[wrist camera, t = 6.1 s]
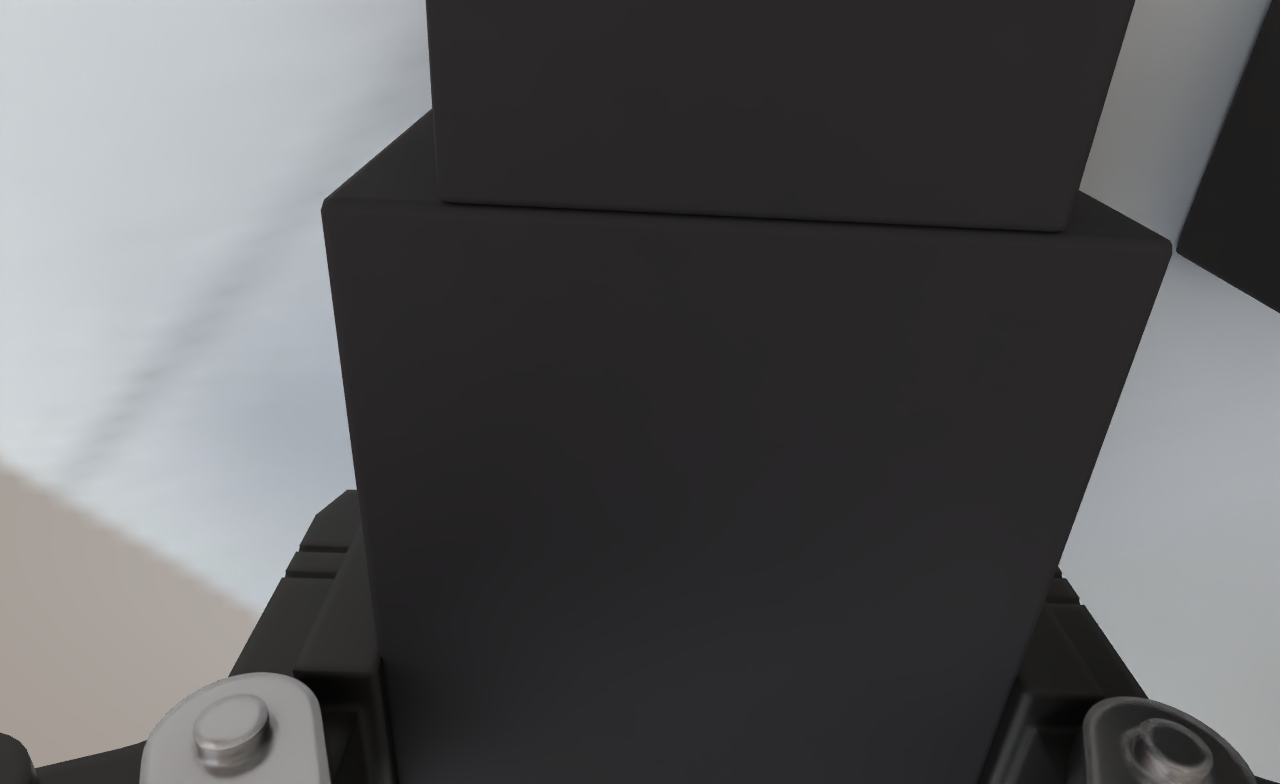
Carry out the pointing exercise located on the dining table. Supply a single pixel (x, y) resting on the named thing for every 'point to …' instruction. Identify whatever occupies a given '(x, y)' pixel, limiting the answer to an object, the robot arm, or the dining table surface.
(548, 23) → the pad
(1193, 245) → the notch pad
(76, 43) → the dining table surface
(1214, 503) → the dining table surface
